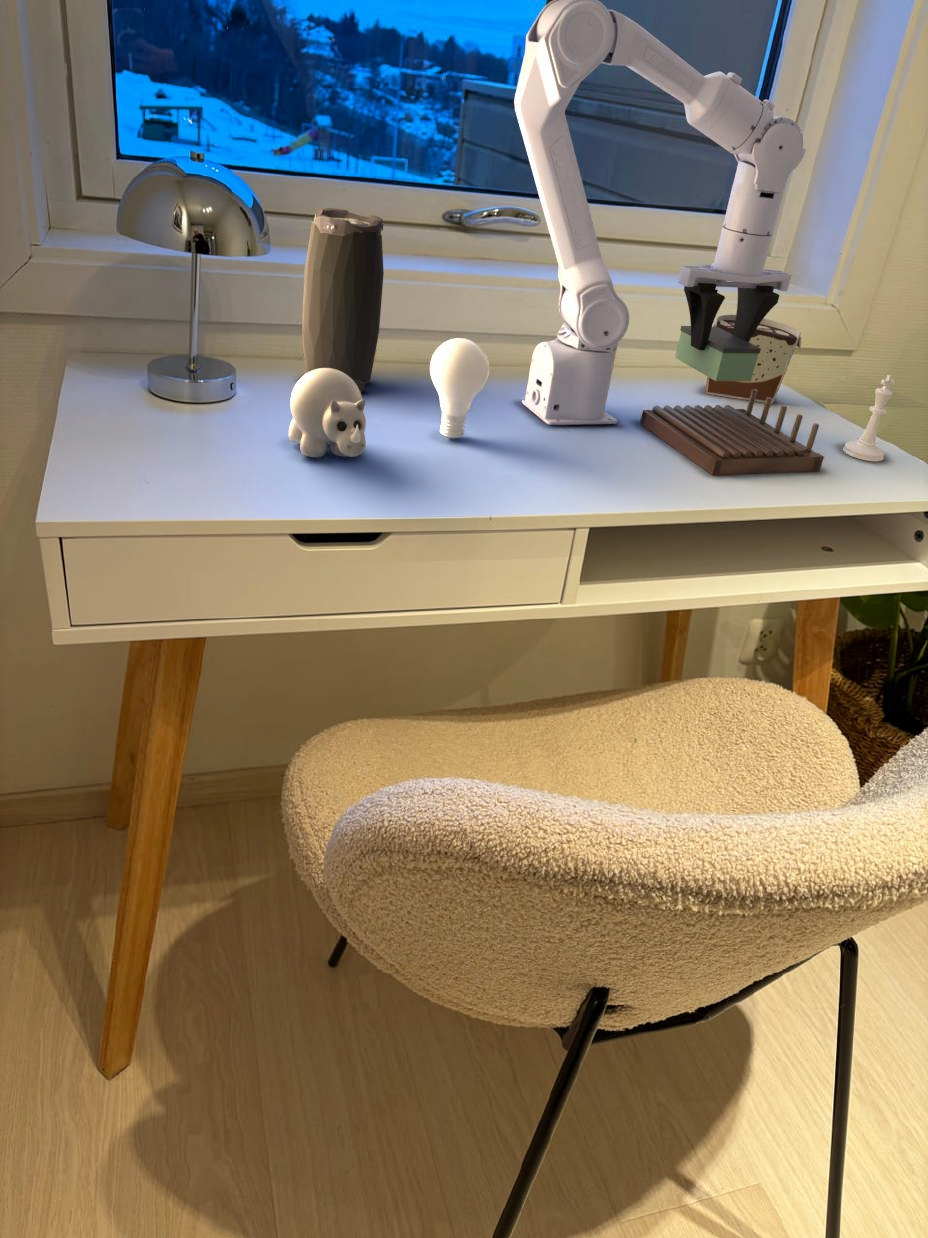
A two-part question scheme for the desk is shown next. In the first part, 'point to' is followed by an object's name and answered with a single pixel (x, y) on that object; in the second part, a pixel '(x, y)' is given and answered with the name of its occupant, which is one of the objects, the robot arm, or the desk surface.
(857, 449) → the chess piece
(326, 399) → the toy rhinoceros
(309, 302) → the brown vase
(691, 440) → the dish rack
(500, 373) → the desk surface
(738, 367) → the box
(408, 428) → the desk surface
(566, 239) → the robot arm
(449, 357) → the lightbulb
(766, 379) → the food container
